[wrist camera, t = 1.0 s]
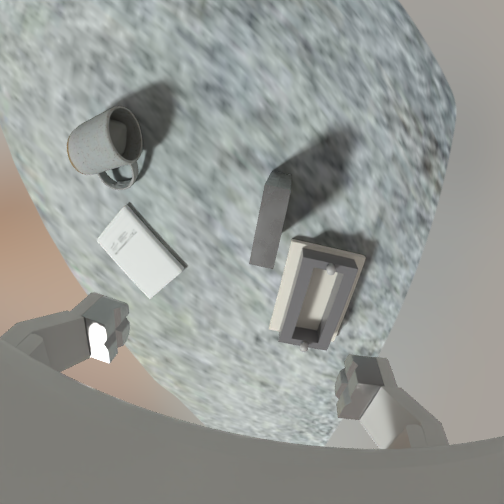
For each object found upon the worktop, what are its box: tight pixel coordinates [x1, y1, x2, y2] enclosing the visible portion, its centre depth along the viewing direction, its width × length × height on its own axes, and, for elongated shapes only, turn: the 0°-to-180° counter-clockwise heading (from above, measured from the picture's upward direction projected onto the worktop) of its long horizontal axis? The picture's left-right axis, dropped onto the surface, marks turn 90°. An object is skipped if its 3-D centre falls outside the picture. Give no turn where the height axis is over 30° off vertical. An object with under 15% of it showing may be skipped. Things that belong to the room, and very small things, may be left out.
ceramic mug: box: [67, 106, 143, 190], centre depth 34 cm, size 11×8×8 cm
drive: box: [249, 171, 292, 269], centre depth 33 cm, size 8×2×10 cm, turn 170°
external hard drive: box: [97, 205, 185, 299], centre depth 43 cm, size 2×8×12 cm
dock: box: [269, 239, 366, 352], centre depth 39 cm, size 14×10×5 cm
